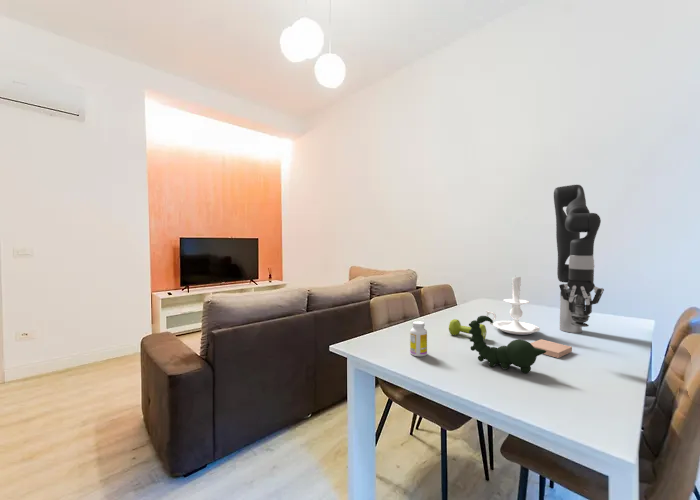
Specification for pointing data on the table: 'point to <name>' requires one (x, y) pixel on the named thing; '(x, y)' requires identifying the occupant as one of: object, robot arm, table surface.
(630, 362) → the table surface
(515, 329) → the candlestick
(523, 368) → the toy figurine
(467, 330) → the dumbbell
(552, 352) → the picture frame
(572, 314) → the grey ridged upright piece
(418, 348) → the supplement bottle
